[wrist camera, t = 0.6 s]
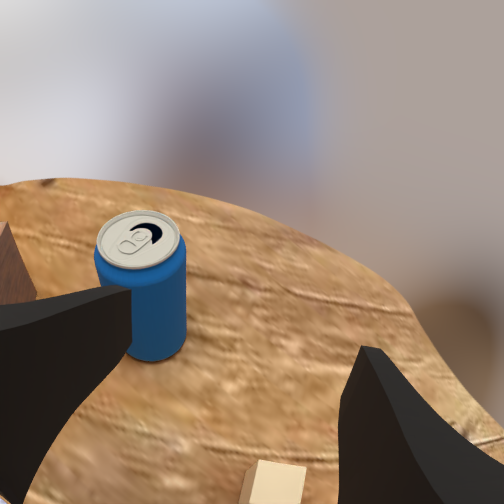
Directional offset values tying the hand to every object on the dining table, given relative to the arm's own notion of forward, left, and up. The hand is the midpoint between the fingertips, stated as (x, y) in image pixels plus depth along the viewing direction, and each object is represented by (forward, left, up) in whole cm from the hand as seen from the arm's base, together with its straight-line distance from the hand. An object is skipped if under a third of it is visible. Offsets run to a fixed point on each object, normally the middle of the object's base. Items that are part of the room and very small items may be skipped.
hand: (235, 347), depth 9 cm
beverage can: (+9, +8, -18) cm, 22 cm away
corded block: (-7, -4, -18) cm, 19 cm away
